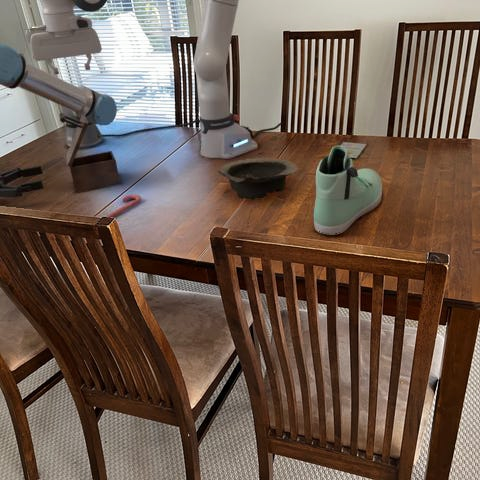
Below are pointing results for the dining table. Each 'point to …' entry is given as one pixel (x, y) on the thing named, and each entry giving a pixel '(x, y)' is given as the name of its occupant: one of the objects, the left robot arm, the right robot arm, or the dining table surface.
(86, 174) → the chest
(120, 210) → the candy cane
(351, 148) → the baking ingredient package
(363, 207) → the sneaker
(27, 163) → the dining table surface
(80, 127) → the lid
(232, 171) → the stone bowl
